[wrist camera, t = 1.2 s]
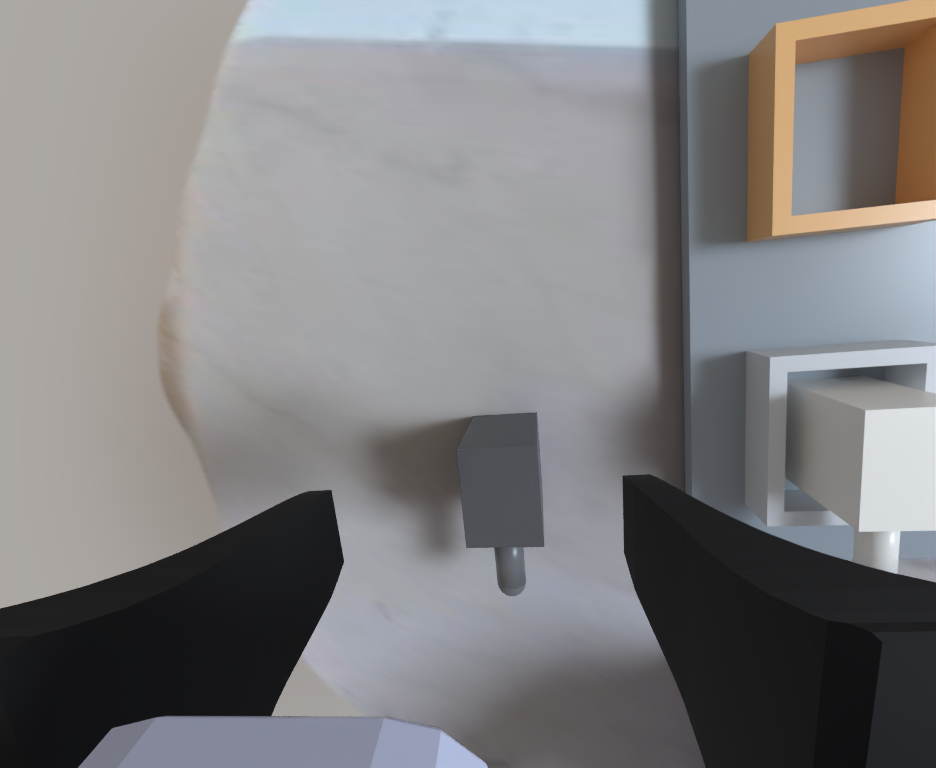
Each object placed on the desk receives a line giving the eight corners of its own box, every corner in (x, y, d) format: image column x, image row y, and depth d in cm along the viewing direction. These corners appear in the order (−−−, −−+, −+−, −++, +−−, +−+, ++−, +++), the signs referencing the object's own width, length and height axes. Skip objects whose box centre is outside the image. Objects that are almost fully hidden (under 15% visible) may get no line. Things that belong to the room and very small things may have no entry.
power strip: (927, 546, 20) (1084, 647, 15) (685, 548, 22) (740, 640, 16) (979, -87, 16) (1228, -301, 10) (677, -28, 18) (746, -185, 12)
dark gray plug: (546, 549, 23) (549, 617, 18) (486, 550, 24) (473, 616, 19) (536, 412, 22) (537, 445, 17) (473, 416, 22) (456, 449, 17)
